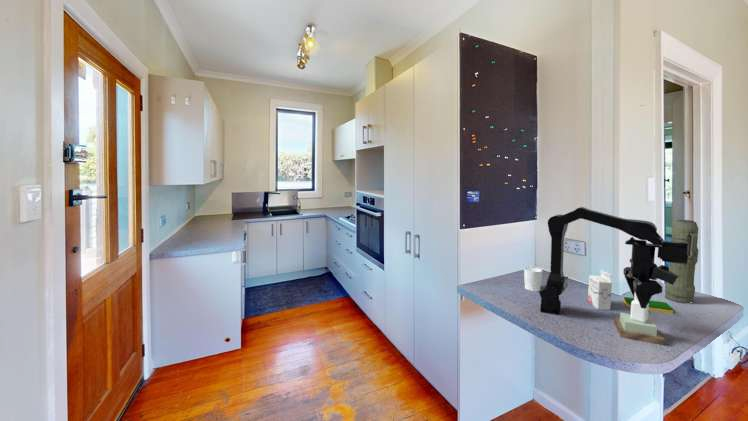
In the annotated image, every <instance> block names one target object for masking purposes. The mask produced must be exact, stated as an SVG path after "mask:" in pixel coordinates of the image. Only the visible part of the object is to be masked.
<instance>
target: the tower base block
mask: <svg viewBox="0 0 748 421" xmlns="http://www.w3.org/2000/svg"><path fill="white" fill-rule="evenodd" d="M613 326H615V330H616V332H617V333H618V335H619V337H620V338H622V339H626V340H627V339H628V340H633V341H638V342H643V343H647V344H653V345H657V344H659V346H662V345H664V346H665V338H664V336H663V335H662V334H661V332H660V331H659V329H657V335H656V336H652V335H647V334H641V333H636V332H631V331H625V330H624V328H623V326H622V324H621V322H620V317H619V318H618V317H614V318H613Z"/></svg>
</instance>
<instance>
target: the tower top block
mask: <svg viewBox="0 0 748 421" xmlns="http://www.w3.org/2000/svg"><path fill="white" fill-rule="evenodd" d="M619 314H620V315H619V318H620V322H621V324H622V326H623V328H624V330H625V331H631V332H636V333H641V334H647V335H652V336H656V335H657V330H658V327H657V325H656V324H655V323H654V321H653V320H652V318H651V317H649V316H648V320H647V321H646V322H645V323H643V322H639V321H636V320H632V319H631V318H630V315H631V313H630V314H629V313H625V312H620V313H619Z"/></svg>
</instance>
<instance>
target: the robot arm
mask: <svg viewBox="0 0 748 421" xmlns="http://www.w3.org/2000/svg"><path fill="white" fill-rule="evenodd" d="M581 219H583V220H585V221H589V222H592V223H596V224H600V225H603V226H606V227H610V228H613V229H616V230H620V231H622V232H623V233H626V234H627V235H629V236H631V237H630V238H629V239H628V240H626V241H625V242H624V243H625V245H629V246H631V256H630V257H631V258H629V263H630V266H627V267H624V268H623V275H624V278H625V280H626V283H627V285H628V288H629V289H630V292H631V295H632V298H634V293H636V296H637V299H638V301H639V304H640V306H641V308H644V309H645V308H646V307H647V305H648V303H649V301H650V300H651V298H653V296H655V295H659V294H662V293H663V286H662V285H661V284H660V283H659V282H658V281H657V279H658V280H660V281H663V282H665V283H666V282H668V283H669V284H672V285H673V284H674V283H675V281H676V280H677V278H678V276H677V275H676V274H674V273H672V272H671V271H669V266H666V265H663V264H661V265H659V266H658V265H657V264H656V263H655V255H656V248H657V258H658V259H660V260H661V262H667V263H669V262H672V263H680V264H687V260H688V252H687V246H688V243H687V242H671V241H668V240H664V238H663V237H662V236H661V235H660V234H659V233H658V232H657V231H658V228H657V226H656V224H655V223H653V222H652V221H648V220H641V219H633V218H631V219H630V218H623V217H619V216H615V215H612V214H608V213H604V212H600V211H597V210H593V209H589V208H587V207H584V206H583V207H582V206H581V207H578V208H576V209H574V210H572V211H569V212H567V213H565V214H561V213H560V214H556V215H554V216H551V217H549V218H548V220H547V227H548V228H547V229H548V232H549V234H550V237H551V238H550V239H551V246H550V272H549V276H548V278H547V280H546V284H545V287H544V288H542V290H541V289H540V291H538V293H539V296H540V307H539V308H540V310H539V311H540V312H541V313H548V314H551V315H552V314H553V315H558V316H559V315H560V312H561V308H562V307H561V306H562V304H561V303H562V302H561V299H560V295H562V293H564V292H565V290H566V289H567V288H569V284H568V281H569V276H565V274H564V249H565V248H564V247H565V246H564V245H565V236H566V235H567V234H566V233H567V230H568V227H569V224H570V223H572V222H575V221H578V220H581ZM647 242H648V243H647Z"/></svg>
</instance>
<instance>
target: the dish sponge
mask: <svg viewBox="0 0 748 421" xmlns="http://www.w3.org/2000/svg"><path fill="white" fill-rule="evenodd" d="M633 300H634V297H629V296H628V297H627V296H623V301H622V302H623V303H624V304H625V306H626V307H627V308H630V309H631V302H632V301H633ZM648 304H649V312H650V311H651V312H657V313H662V314H663V313H664V314H671V315H672V314H674V309H673V307H671V305H669V303H667V302H665V301H657V300H651V299H650V301H649V303H648Z"/></svg>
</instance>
